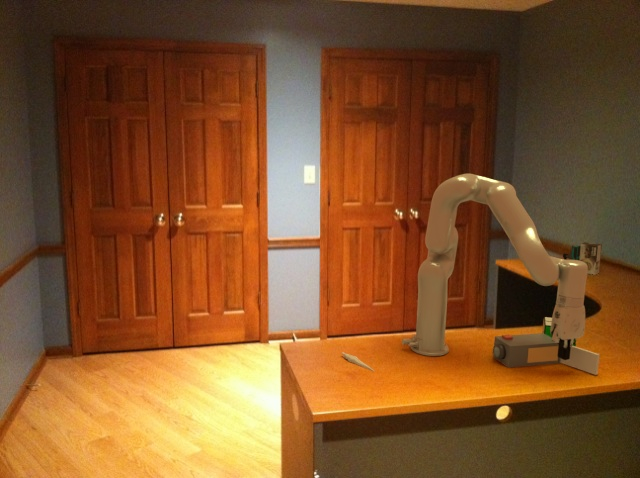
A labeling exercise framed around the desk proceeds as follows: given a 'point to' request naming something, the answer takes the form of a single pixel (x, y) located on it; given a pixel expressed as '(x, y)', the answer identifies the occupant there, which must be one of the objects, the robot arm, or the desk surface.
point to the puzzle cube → (547, 328)
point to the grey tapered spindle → (356, 361)
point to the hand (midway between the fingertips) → (563, 358)
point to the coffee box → (591, 256)
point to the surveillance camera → (573, 253)
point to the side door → (582, 360)
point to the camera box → (525, 350)
